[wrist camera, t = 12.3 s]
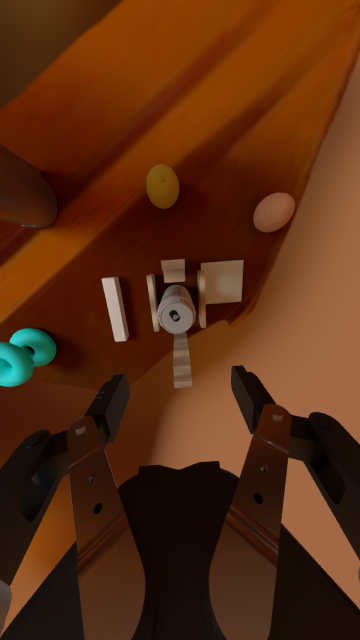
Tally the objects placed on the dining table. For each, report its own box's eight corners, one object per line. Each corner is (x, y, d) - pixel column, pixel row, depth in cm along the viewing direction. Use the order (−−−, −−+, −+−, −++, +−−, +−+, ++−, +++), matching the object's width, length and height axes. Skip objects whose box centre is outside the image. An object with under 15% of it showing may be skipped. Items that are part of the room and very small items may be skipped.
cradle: (148, 262, 36) (119, 264, 18) (201, 258, 35) (226, 255, 18) (157, 334, 41) (142, 390, 23) (203, 330, 41) (223, 384, 23)
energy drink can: (172, 314, 40) (170, 344, 26) (158, 293, 38) (147, 312, 24) (194, 301, 39) (204, 324, 25) (180, 278, 37) (183, 290, 23)
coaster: (200, 263, 36) (201, 263, 35) (242, 259, 36) (243, 259, 35) (201, 303, 39) (202, 304, 38) (240, 300, 39) (241, 301, 38)
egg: (242, 229, 34) (262, 219, 26) (255, 197, 32) (280, 176, 24) (267, 239, 34) (294, 232, 27) (281, 208, 33) (314, 191, 25)
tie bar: (107, 277, 37) (101, 278, 34) (118, 276, 37) (113, 278, 34) (119, 336, 42) (115, 341, 39) (129, 335, 42) (125, 340, 39)
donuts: (33, 386, 34) (-14, 391, 34) (64, 359, 43) (27, 363, 44) (11, 343, 31) (-41, 349, 31) (50, 324, 40) (10, 328, 40)
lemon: (150, 177, 31) (142, 149, 23) (180, 181, 31) (181, 156, 23) (149, 211, 32) (140, 196, 25) (177, 215, 33) (177, 202, 25)
